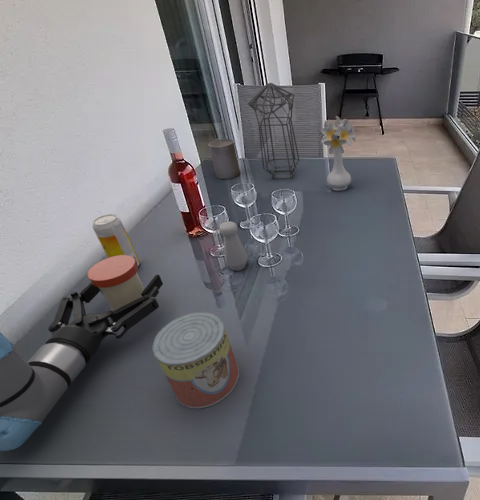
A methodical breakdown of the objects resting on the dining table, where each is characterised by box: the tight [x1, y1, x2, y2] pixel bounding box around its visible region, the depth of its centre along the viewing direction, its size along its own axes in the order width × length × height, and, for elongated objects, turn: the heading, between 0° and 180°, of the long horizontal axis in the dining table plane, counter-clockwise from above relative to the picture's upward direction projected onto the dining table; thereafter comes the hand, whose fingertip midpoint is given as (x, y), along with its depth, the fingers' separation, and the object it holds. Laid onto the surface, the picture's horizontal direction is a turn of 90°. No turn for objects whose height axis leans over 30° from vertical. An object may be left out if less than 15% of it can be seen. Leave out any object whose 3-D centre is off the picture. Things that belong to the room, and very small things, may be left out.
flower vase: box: [319, 115, 357, 192], centre depth 125 cm, size 13×18×25 cm
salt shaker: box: [219, 221, 249, 272], centre depth 90 cm, size 6×6×13 cm
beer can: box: [92, 213, 140, 267], centre depth 90 cm, size 6×6×15 cm
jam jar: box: [98, 272, 146, 311], centre depth 77 cm, size 8×8×12 cm
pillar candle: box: [207, 138, 241, 180], centre depth 142 cm, size 10×10×15 cm
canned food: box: [151, 311, 240, 410], centre depth 61 cm, size 11×11×12 cm
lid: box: [86, 255, 139, 288], centre depth 74 cm, size 9×9×2 cm
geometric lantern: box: [247, 82, 300, 180], centre depth 135 cm, size 16×16×35 cm
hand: (131, 279), depth 80 cm, fingers open, 13 cm apart
